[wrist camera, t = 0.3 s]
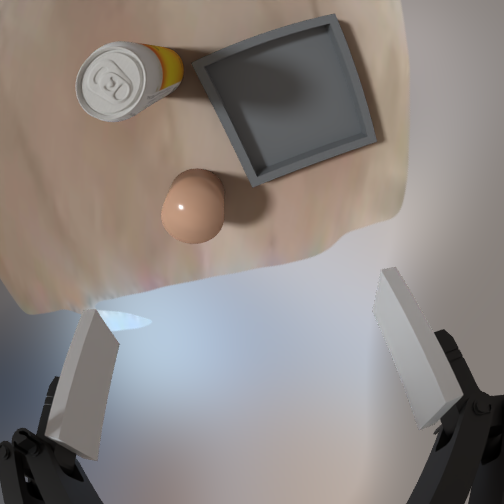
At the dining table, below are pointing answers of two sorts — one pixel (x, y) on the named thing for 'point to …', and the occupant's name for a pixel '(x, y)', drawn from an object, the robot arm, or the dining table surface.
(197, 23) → the dining table surface
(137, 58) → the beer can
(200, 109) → the dining table surface
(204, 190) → the light brown rounded lump
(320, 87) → the tray
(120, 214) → the dining table surface
